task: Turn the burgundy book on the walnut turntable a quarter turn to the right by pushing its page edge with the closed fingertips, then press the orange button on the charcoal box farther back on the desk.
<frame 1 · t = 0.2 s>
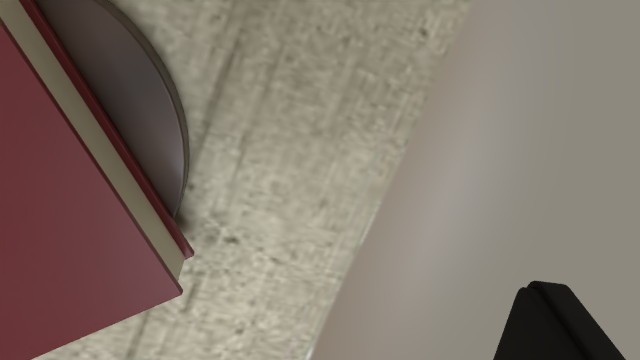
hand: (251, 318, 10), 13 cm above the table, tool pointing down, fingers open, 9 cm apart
turntable: (6, 141, 22), on the table
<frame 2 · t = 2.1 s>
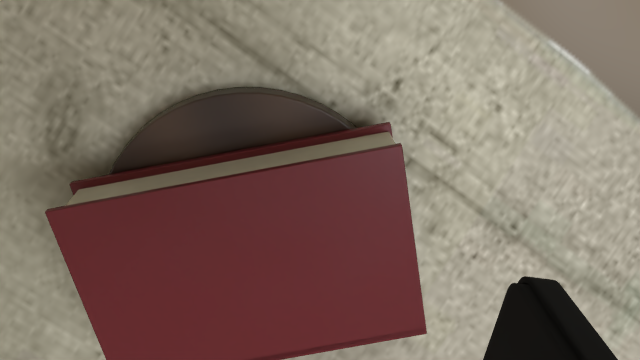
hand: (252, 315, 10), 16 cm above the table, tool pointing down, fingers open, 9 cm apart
book: (250, 258, 25), point 3 cm above the table, hinge at 0.0°
turntable: (254, 230, 28), on the table
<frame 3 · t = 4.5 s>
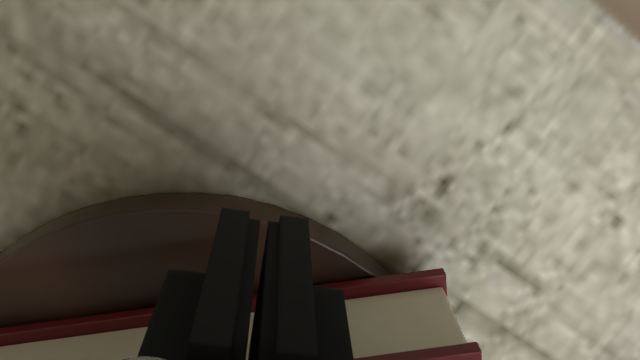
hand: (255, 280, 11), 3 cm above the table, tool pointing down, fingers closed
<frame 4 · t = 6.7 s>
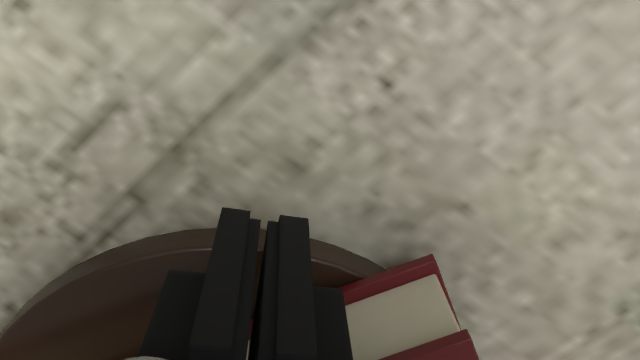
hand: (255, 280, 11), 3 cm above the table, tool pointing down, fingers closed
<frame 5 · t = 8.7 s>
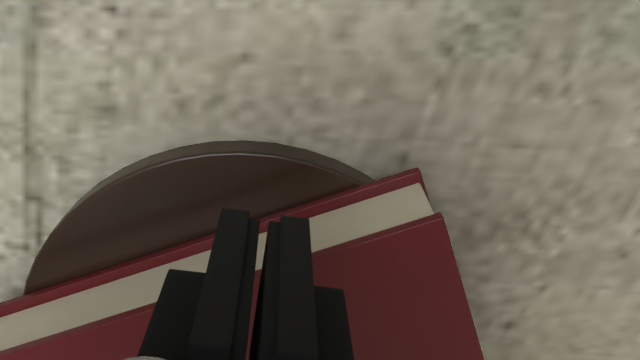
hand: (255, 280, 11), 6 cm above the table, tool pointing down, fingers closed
turntable: (246, 333, 20), on the table
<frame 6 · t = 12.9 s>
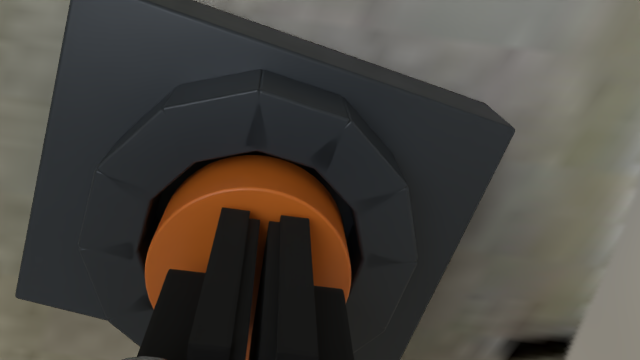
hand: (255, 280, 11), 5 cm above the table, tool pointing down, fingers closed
button: (251, 258, 12), point 4 cm above the table, slide at -0.3 cm, touching gripper
button box: (259, 181, 16), on the table
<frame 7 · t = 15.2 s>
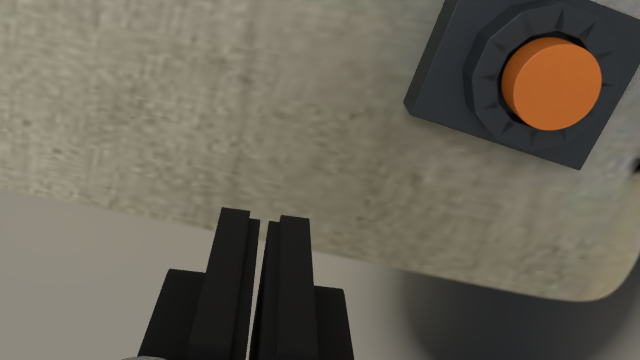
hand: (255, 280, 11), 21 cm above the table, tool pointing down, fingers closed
button: (549, 83, 27), point 4 cm above the table, slide at 0.1 cm
button box: (517, 62, 31), on the table
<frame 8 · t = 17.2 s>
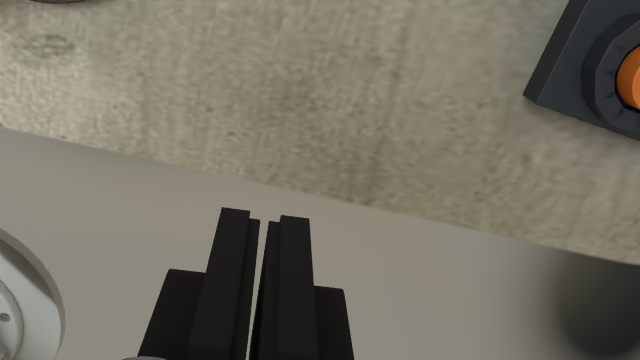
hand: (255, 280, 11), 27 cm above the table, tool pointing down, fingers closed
button box: (618, 62, 38), on the table
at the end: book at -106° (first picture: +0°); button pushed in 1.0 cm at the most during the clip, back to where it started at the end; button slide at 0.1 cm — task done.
